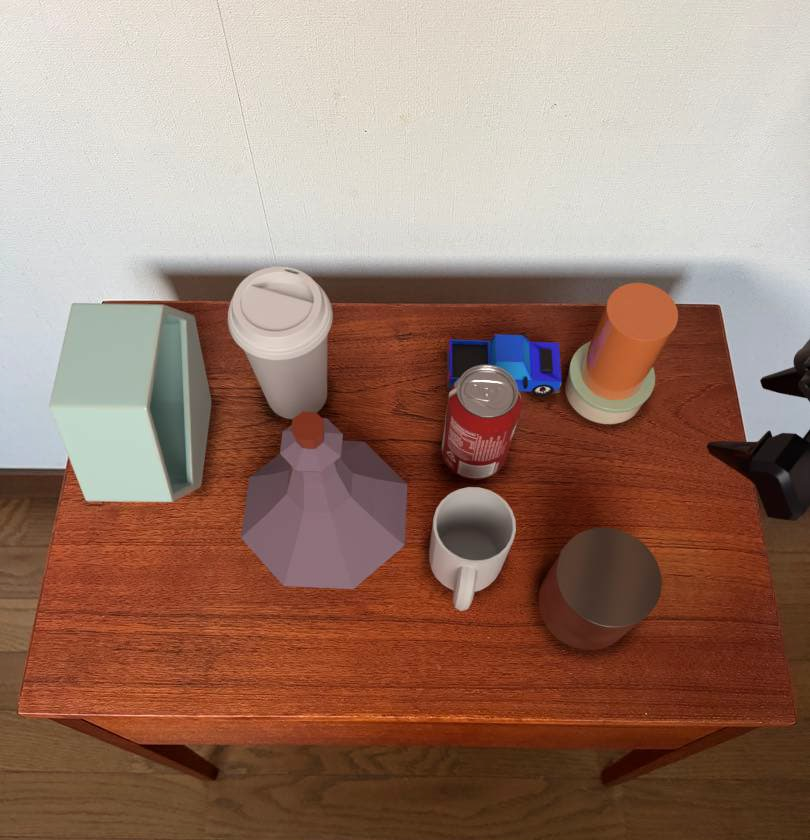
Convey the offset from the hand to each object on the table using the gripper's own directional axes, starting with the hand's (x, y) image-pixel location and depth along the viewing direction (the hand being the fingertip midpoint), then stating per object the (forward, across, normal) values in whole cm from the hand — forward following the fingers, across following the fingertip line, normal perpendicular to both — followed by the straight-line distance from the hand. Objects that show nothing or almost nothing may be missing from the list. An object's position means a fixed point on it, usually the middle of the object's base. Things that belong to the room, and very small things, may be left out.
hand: (735, 414), depth 66 cm
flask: (+24, +30, -9) cm, 40 cm away
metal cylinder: (+7, +20, +8) cm, 22 cm away
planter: (+37, +35, -22) cm, 56 cm away
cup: (+15, +25, 0) cm, 29 cm away
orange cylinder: (+14, -2, -4) cm, 14 cm away
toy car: (+23, +5, -8) cm, 25 cm away
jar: (+16, -2, -1) cm, 16 cm away
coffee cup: (+33, +21, -19) cm, 44 cm away
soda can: (+20, +14, -5) cm, 25 cm away
